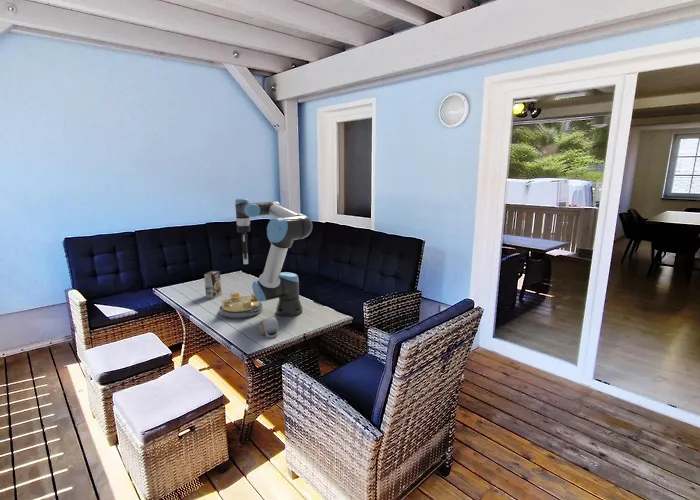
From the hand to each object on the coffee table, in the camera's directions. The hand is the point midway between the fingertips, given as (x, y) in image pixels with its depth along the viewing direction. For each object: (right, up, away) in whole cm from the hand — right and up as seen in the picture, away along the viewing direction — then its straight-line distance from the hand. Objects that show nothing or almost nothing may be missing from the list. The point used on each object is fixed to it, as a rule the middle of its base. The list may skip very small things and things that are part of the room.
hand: (245, 263), depth 221 cm
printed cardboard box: (-27, -22, +21) cm, 40 cm away
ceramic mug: (+22, -34, -35) cm, 54 cm away
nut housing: (-1, -28, -6) cm, 28 cm away
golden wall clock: (-1, -25, -6) cm, 26 cm away
